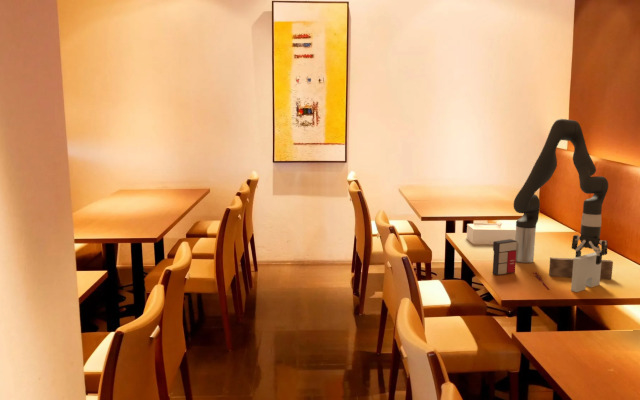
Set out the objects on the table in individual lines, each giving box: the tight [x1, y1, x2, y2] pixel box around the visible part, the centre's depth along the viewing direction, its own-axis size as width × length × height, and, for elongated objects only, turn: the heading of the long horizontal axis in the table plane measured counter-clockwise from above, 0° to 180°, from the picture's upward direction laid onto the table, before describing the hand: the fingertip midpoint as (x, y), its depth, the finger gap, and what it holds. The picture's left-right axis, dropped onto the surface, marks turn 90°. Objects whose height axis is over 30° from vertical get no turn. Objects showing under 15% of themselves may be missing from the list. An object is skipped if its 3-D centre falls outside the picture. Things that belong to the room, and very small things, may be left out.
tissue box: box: [466, 221, 516, 245], centre depth 331 cm, size 14×25×11 cm, turn 89°
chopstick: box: [532, 271, 550, 291], centre depth 258 cm, size 2×24×1 cm, turn 175°
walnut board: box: [548, 257, 614, 280], centre depth 264 cm, size 26×2×8 cm, turn 81°
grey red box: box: [492, 239, 517, 276], centre depth 268 cm, size 11×4×15 cm, turn 117°
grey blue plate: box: [570, 251, 602, 293], centre depth 248 cm, size 18×2×14 cm, turn 126°
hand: (588, 262), depth 248 cm, fingers open, 8 cm apart
